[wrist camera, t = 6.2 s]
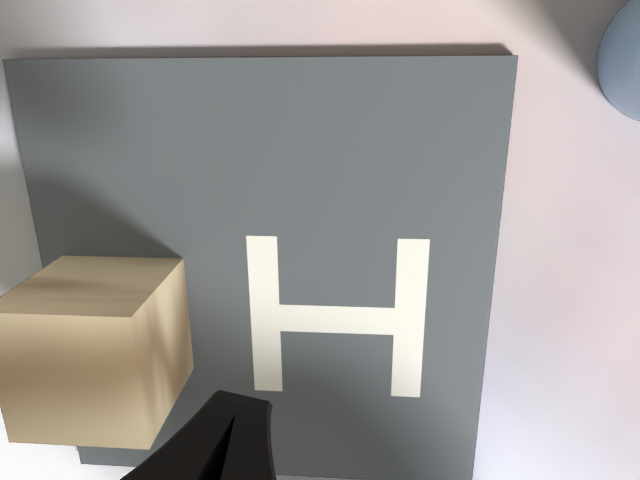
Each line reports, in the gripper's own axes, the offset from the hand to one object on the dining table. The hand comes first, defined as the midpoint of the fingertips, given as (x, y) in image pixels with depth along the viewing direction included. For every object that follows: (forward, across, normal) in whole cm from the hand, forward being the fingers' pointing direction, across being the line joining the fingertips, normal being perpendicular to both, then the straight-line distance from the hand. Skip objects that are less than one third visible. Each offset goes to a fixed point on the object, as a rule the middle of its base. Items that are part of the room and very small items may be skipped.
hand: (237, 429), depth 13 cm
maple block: (+9, +6, +3) cm, 11 cm away
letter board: (+9, +1, +1) cm, 9 cm away
